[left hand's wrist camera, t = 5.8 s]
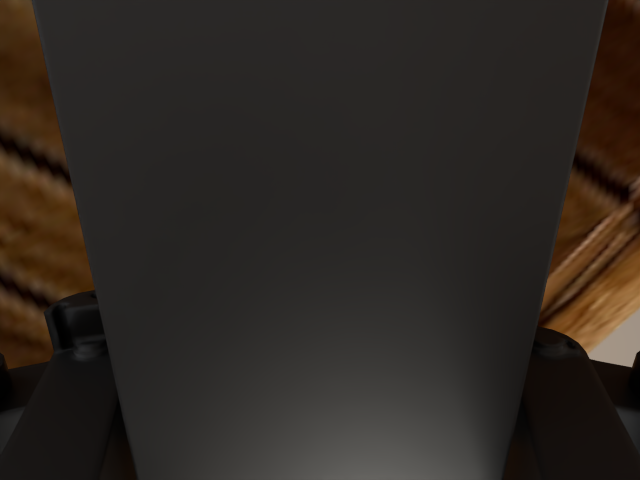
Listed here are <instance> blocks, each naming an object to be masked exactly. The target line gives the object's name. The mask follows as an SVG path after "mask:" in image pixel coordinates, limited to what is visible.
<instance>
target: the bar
mask: <svg viewBox="0 0 640 480" xmlns="http://www.w3.org/2000/svg"><path fill="white" fill-rule="evenodd" d="M32 4H33V8H34V13H35V17H36V22H37V27H38V31H39V36H40V40H41V45H42V49H43V54H44V59H45V63H46V68H47V72H48V77H49V81H50V86H51V91H52V95H53V100H54V104H55V109H56V113H57V118H58V123H59V127H60V132H61V136H62V141H63V145H64V150H65V155H66V159H67V164H68V168H69V173H70V177H71V182H72V187H73V191H74V196H75V200H76V205H77V209H78V214H79V219H80V223H81V228H82V232H83V237H84V241H85V246H86V251H87V255H88V260H89V264H90V269H91V273H92V278H93V283H94V287H95V292H96V296H97V301H98V305H99V310H100V315H101V319H102V324H103V328H104V333H105V337H106V342H107V347H108V351H109V356H110V360H111V365H112V369H113V374H114V379H115V383H116V388H117V392H118V397H119V401H120V406H121V411H122V415H123V420H124V424H125V429H126V433H127V438H128V443H129V447H130V452H131V456H132V461H133V465H134V470H135V475H136V479H137V480H503V479H504V474H505V470H506V465H507V461H508V456H509V452H510V447H511V442H512V438H513V433H514V429H515V424H516V420H517V415H518V410H519V406H520V401H521V397H522V392H523V388H524V383H525V378H526V374H527V369H528V365H529V360H530V356H531V351H532V347H533V342H534V337H535V333H536V328H537V324H538V319H539V315H540V310H541V305H542V301H543V296H544V292H545V287H546V283H547V278H548V273H549V269H550V264H551V260H552V255H553V251H554V246H555V242H556V237H557V232H558V228H559V223H560V219H561V214H562V210H563V205H564V200H565V196H566V191H567V187H568V182H569V178H570V173H571V169H572V164H573V159H574V155H575V150H576V146H577V141H578V137H579V132H580V127H581V123H582V118H583V114H584V109H585V105H586V100H587V95H588V91H589V86H590V82H591V77H592V73H593V68H594V64H595V59H596V54H597V50H598V45H599V41H600V36H601V32H602V27H603V22H604V18H605V13H606V9H607V4H608V0H32Z"/></svg>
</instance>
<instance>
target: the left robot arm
mask: <svg viewBox="0 0 640 480" xmlns="http://www.w3.org/2000/svg"><path fill="white" fill-rule="evenodd" d="M44 315H45V319H46V323H47V326H48V330H49V334H50V337H51V341H52V344H53V348H54V354H53V356H52V358H51V360H50V361H48V362H44V363H39V364H34V365H29V366H24V367H18V368H13V369H8V367H7V364H6V361H5V358H4V355H3V354H1V353H0V480H137V479H136V475H135V470H134V465H133V461H132V456H131V452H130V447H129V443H128V438H127V433H126V429H125V424H124V420H123V415H122V411H121V406H120V401H119V397H118V392H117V388H116V383H115V379H114V374H113V369H112V365H111V360H110V356H109V351H108V347H107V342H106V337H105V333H104V328H103V324H102V319H101V315H100V310H99V305H98V301H97V296H96V292H95V290H93V291H88V292H82V293H78V294H75V295H72V296H69V297H66V298H63V299H61V300H60V301H58V302H56V303H54V304H52V305H51V306H50V307H49V308H48V309H47V310H46V311H45V312H44ZM503 480H640V351H639V352H638V353H637V354H636V357H635V360H634V363H633V366H632V367H627V366H621V365H616V364H610V363H605V362H600V361H595V360H591V359H589V357H588V355H587V353H586V351H585V350H584V349H583V348H582V347H581V345H580V344H579V343H578V342H576V341H575V340H573V339H572V338H570V337H569V336H567V335H565V334H562V333H560V332H557V331H555V330H552V329H547V328H542V327H538V325H537V328H536V333H535V337H534V342H533V347H532V351H531V356H530V360H529V365H528V369H527V374H526V378H525V383H524V388H523V392H522V397H521V401H520V406H519V410H518V415H517V420H516V424H515V429H514V433H513V438H512V442H511V447H510V452H509V456H508V461H507V465H506V470H505V474H504V479H503Z"/></svg>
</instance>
